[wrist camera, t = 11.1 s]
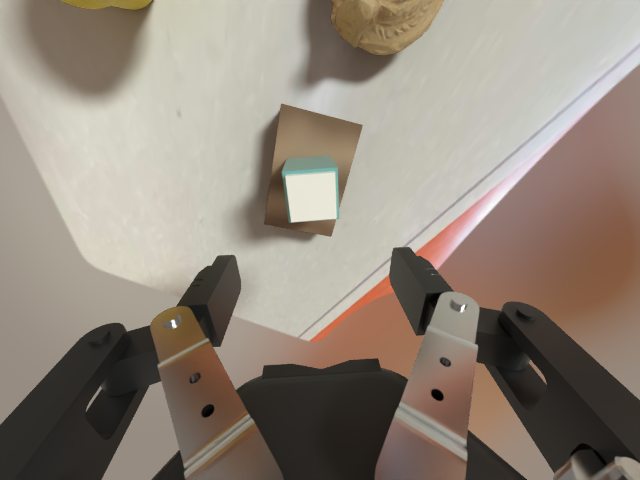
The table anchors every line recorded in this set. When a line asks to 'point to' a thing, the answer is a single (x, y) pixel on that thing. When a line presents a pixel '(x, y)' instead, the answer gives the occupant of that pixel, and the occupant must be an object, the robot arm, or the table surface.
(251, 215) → the table surface
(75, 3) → the plant pot
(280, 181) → the brown rectangular block
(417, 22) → the oil lamp
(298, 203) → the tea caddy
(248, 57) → the table surface
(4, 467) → the robot arm
